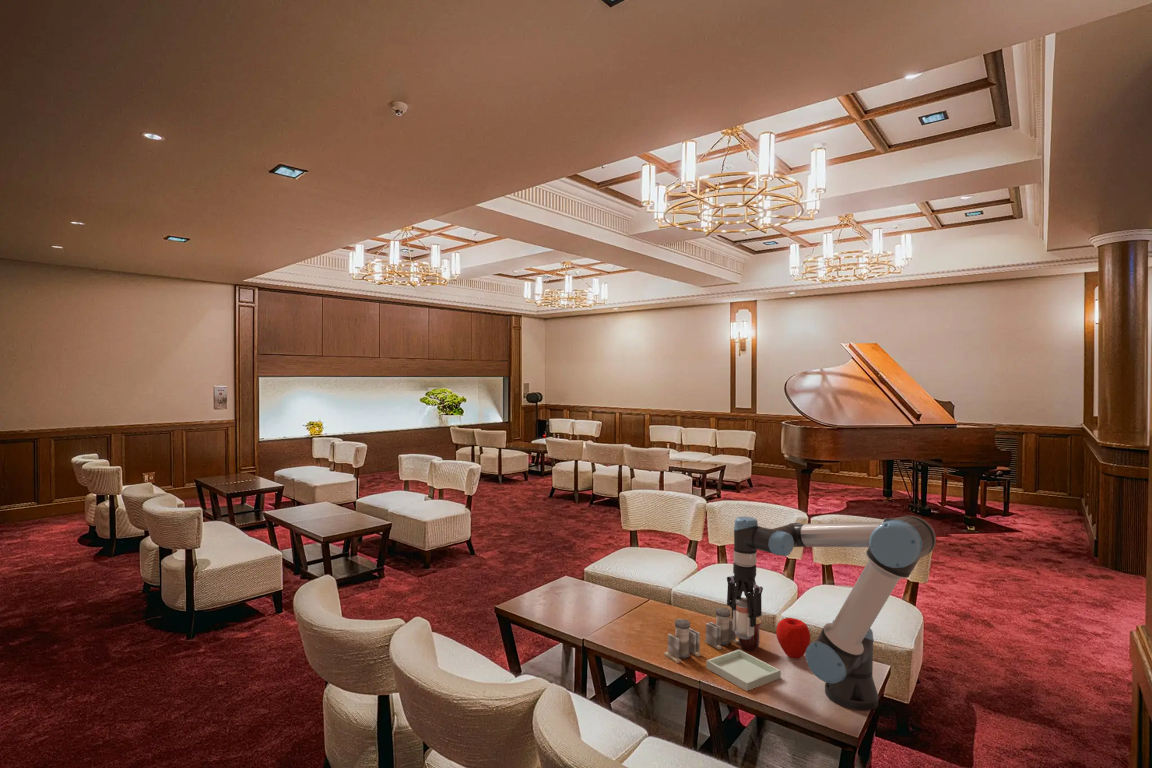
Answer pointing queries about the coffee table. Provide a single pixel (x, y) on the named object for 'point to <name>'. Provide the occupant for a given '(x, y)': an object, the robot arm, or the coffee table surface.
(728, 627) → the clip rack
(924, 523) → the robot arm
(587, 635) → the coffee table surface
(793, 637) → the apple
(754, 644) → the mug
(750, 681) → the tray
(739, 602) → the cylinder
